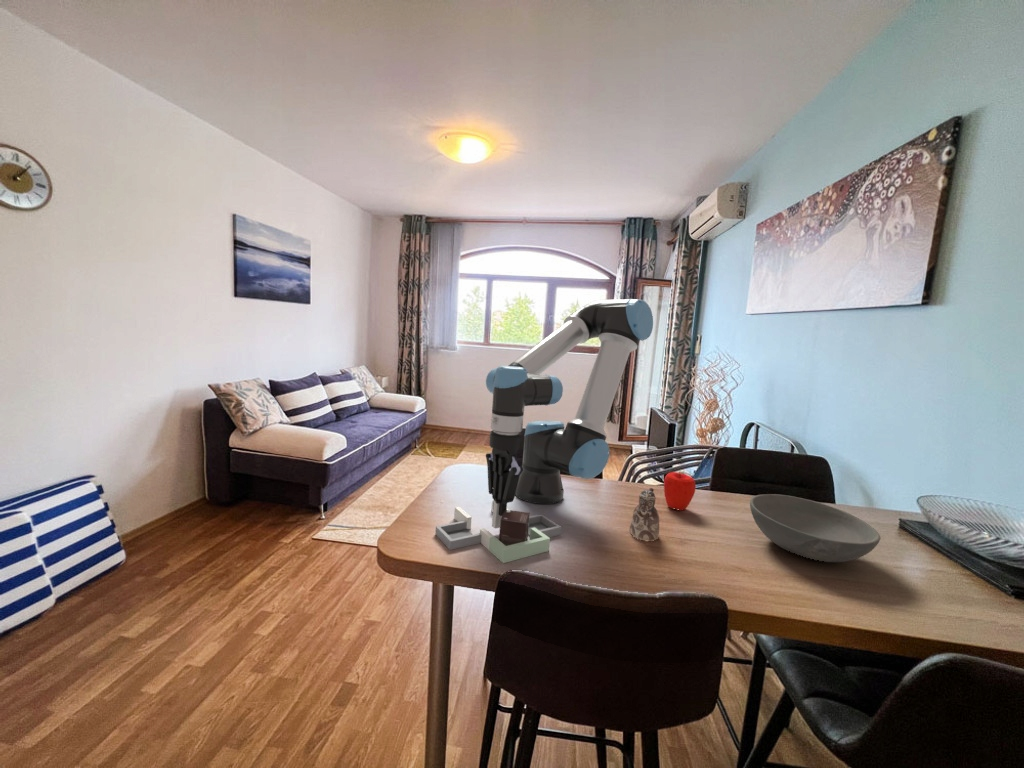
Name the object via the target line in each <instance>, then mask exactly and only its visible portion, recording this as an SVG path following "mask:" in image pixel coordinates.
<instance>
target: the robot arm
mask: <svg viewBox="0 0 1024 768" xmlns="http://www.w3.org/2000/svg"><path fill="white" fill-rule="evenodd" d="M653 328H654V316H653V312H652V309H651V307H650V305H649V303H648V302H646V301H645V300H643V299H640V298H639V299H637V298H635V299H634V298H628V299H625V298H624V299H599V300H594V301H592V302H590V303H588V304H585V305H584V306H582V307H580V308H578V309H576V310H575V311H574V312H572V313H571V314H570V315H567V317H565V319H564V321H563V324H562V325H560V326H559V327H557V328H556V329H555V330H554V331H553V332H551V333H550V334H548V335H547V336H546V337H545V338H543V339H542V340H541V341H539V342H537V343H536V344H535V345H533V346H532V347H531V348H530V349H528V350H527V351H526V352H524V353H523V354H522V355H521V356H519V357H517V359H515V360H514V361H512V362H511V363H510V364H508V365H499V366H498V367H496V368H493V369H492V370H490V371H489V372H488V373H487V376H486V378H485V385H486V388H487V391H488V392H490V393H491V394H492V407H491V408H492V409H491V419H490V429H491V431H490V433H489V447H490V448H492V450H491V452H489V453H485V459H486V464H487V465H486V466H487V485H488V489H487V490H488V494H489V495H491V497H492V499H493V500H492V501H493V512H492V519H491V520H492V521H491V527H492V528H494V529H500V521H501V518H502V515H503V513H504V511H505V510H506V509H507V508H508V503H513V502H514V499H515V496H516V497H517V498H518V499H521V500H522V501H525V502H528V503H533V504H538V505H544V504H545V505H548V504H549V505H550V504H557V503H559V502H561V501H562V500H563V499H564V494H565V491H564V487H563V481H562V476H561V472H564V473H566V474H569V475H571V476H573V477H575V478H581V479H584V480H592V479H594V478H595V477H597V476H598V475H600V474H601V473H602V472H603V471H604V469H605V468H606V466H607V464H608V461H609V459H610V455H611V453H610V446H609V444H608V442H607V441H606V440H607V434H606V431H605V426H606V423H607V419H608V417H609V415H610V412H611V411H610V410H611V408H612V406H613V403H614V399H615V398H616V394H617V391H618V388H619V385H620V382H621V379H622V377H623V374H624V370H625V368H626V366H627V362H628V359H629V357H630V353H633V352H634V351H636V350H637V349H638V347H639V343H640V341H644V340H645V341H646V340H648V338H650V336H651V334H652V332H653ZM593 338H594V339H595V338H598V340H599V341H600V347H599V350H598V352H597V354H596V358H595V361H594V364H593V366H592V369H591V371H590V375H589V378H588V381H587V383H586V386H585V389H584V391H583V394H582V397H581V399H580V400H581V401H580V403H579V405H578V408H577V411H576V414H575V416H574V418H573V419H571V420H568V421H567V422H566V426H565V424H564V422H562V421H558V420H557V421H556V420H537V421H535V420H534V421H530V422H528V423H527V424H526V426H525V431H524V436H522V431H523V429H524V428H523V427H524V425H523V424H524V413H525V412H524V411H525V407H528V406H550V405H554V404H557V403H558V402H560V400H561V399H562V397H563V392H564V387H563V383H562V381H561V380H560V378H559V377H557V376H556V375H549V374H543V373H544V372H545V371H547V370H548V369H549V368H551V366H553V365H554V364H555V363H556V362H557V361H558V360H560V359H561V358H563V356H565V355H566V354H568V352H569V351H571V350H572V349H574V348H575V347H576V346H577V345H579V344H585V343H586V342H587V341H589V340H591V339H593ZM522 437H523V453H522V465H521V466H519V464H518V456H517V453H518V450H520V449H521V447H522V446H521V445H522Z"/></svg>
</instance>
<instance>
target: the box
mask: <svg viewBox="0 0 1024 768" xmlns="http://www.w3.org/2000/svg"><path fill="white" fill-rule="evenodd" d="M529 517H530V512H526V511H518V510H511V509H509V510H505V511H504V513H503V515H502V518H501V521H500V528H499V532H498V533H499V535H498V536H499V537H498V540H499V541H500V542H502V543H503V544H504V545H505V546H508V545H513V544H517V543H521V542H525V541H529V540H528V539H529V538H528V537H529V536H528V527H529Z"/></svg>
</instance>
